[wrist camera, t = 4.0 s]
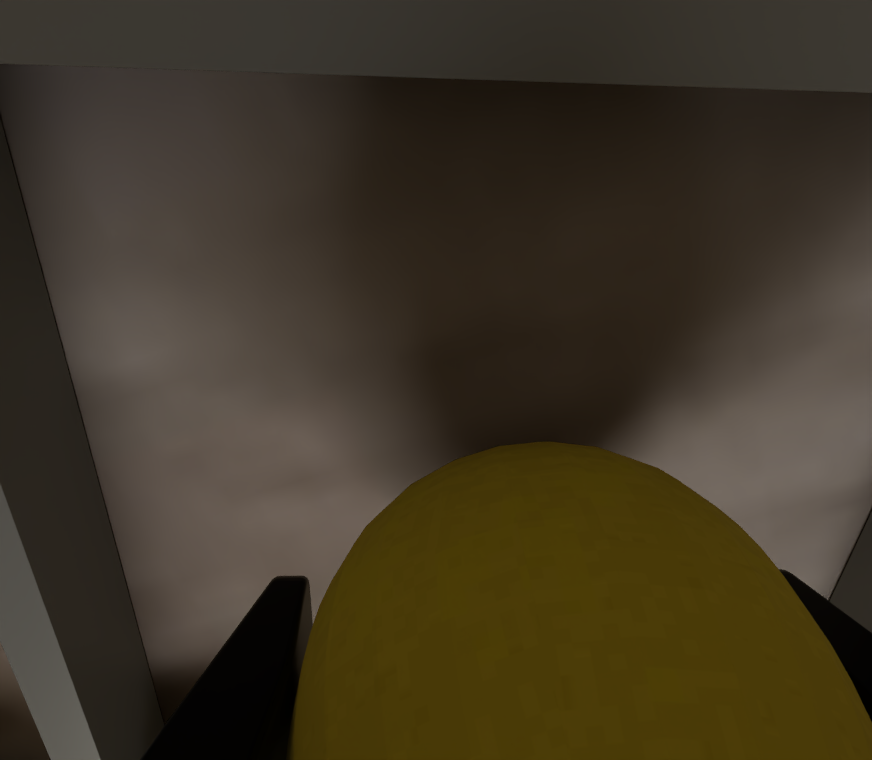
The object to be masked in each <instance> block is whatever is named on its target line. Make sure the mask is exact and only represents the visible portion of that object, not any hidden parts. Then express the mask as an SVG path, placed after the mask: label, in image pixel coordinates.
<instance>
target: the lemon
mask: <svg viewBox="0 0 872 760" xmlns="http://www.w3.org/2000/svg"><path fill="white" fill-rule="evenodd" d="M286 760H872V722H871V720H870V718H869V715H868V713H867V711H866V709H865V707H864V705H863V703H862V701H861V699H860V697H859V695H858V693H857V691H856V688H855V686H854V684H853V682H852V680H851V678H850V677H849V675H848V673H847V671H846V670H845V668H844V666H843V664H842V663H841V661H840V659H839V657H838V656H837V654H836V652H835V650H834V649H833V647H832V645H831V644H830V642H829V641H828V639H827V638H826V636H825V635H824V633H823V632H822V630H821V629H820V628H819V626H818V625H817V623H816V622H815V620H814V619H813V617H812V616H811V614H810V613H809V611H808V610H807V609H806V607H805V606H804V604H803V603H802V601H801V600H800V599H799V597H798V596H797V594H796V593H795V591H794V590H793V589H792V587H791V586H790V584H789V583H788V581H787V580H786V579H785V577H784V576H783V574H782V573H781V572H780V571H779V569H778V568H777V567H776V566H775V564H774V563H773V562H772V561H771V560H770V558H769V557H768V556H767V555H766V553H765V552H764V551H763V550H762V549H761V547H760V546H759V545H758V544H757V543H756V542H755V541H754V540H753V539H752V538H751V537H750V536H749V535H748V534H747V533H746V532H745V531H744V530H743V529H742V528H741V527H740V526H739V525H738V524H737V523H736V522H734V521H733V520H732V519H731V518H729V517H728V516H727V515H726V514H725V513H723V512H722V511H721V510H720V509H719V508H717V507H716V506H715V505H713V504H712V503H710V502H709V501H707V500H706V499H704V498H703V497H702V496H700V495H699V494H697V493H696V492H694V491H693V490H692V489H690V488H689V487H687V486H686V485H684V484H683V483H681V482H680V481H679V480H677V479H675V478H674V477H672V476H670V475H669V474H667V473H665V472H664V471H662V470H660V469H659V468H656V467H653V466H651V465H648V464H645V463H642V462H639V461H637V460H634V459H631V458H628V457H625V456H622V455H619V454H616V453H613V452H611V451H608V450H605V449H602V448H599V447H594V446H585V445H576V444H567V443H558V442H532V443H523V444H513V445H503V446H497V447H494V448H491V449H488V450H484V451H481V452H478V453H475V454H472V455H468V456H465V457H462V458H459V459H456V460H454V461H452V462H450V463H448V464H447V465H445V466H443V467H441V468H439V469H438V470H436V471H434V472H432V473H431V474H429V475H427V476H425V477H423V478H422V479H420V480H418V481H416V482H414V483H413V484H411V485H410V486H409V487H408V488H407V489H406V490H404V491H403V492H402V493H401V494H400V495H399V496H398V497H397V498H396V499H395V500H394V501H392V502H391V503H390V504H389V505H388V506H387V507H386V508H385V509H384V510H383V511H382V512H381V513H379V514H378V515H377V516H376V517H375V518H374V519H373V520H372V521H371V522H370V523H369V524H368V525H367V526H366V527H365V529H364V530H363V532H362V533H361V535H360V536H359V538H358V539H357V540H356V542H355V543H354V545H353V547H352V548H351V550H350V552H349V553H348V555H347V557H346V558H345V560H344V561H343V563H342V565H341V566H340V568H339V570H338V571H337V573H336V575H335V576H334V578H333V580H332V581H331V583H330V585H329V587H328V589H327V591H326V594H325V596H324V598H323V600H322V602H321V604H320V606H319V609H318V612H317V615H316V618H315V621H314V623H313V626H312V629H311V632H310V636H309V640H308V644H307V648H306V652H305V656H304V660H303V664H302V668H301V673H300V678H299V682H298V687H297V692H296V697H295V701H294V706H293V712H292V718H291V724H290V731H289V737H288V744H287V756H286Z"/></svg>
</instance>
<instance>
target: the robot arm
mask: <svg viewBox="0 0 872 760" xmlns="http://www.w3.org/2000/svg"><path fill="white" fill-rule="evenodd" d="M779 571H780V572H781V573H782V574H783V576H784V577H785V579H786V580H787V581H788V583H789V584H790V586H791V587H792V589H793V590H794V591H795V593H796V594H797V596H798V597H799V599H800V600H801V601H802V603H803V604H804V606H805V607H806V609H807V610H808V611H809V613H810V614H811V616H812V617H813V619H814V620H815V622H816V623H817V625H818V626H819V628H820V629H821V630H822V632H823V633H824V635H825V636H826V638H827V639H828V641H829V642H830V644H831V645H832V647H833V649H834V650H835V652H836V654H837V656H838V657H839V659H840V661H841V663H842V664H843V666H844V668H845V670H846V671H847V673H848V675H849V677H850V678H851V680H852V682H853V684H854V686H855V688H856V691H857V693H858V695H859V697H860V699H861V701H862V703H863V705H864V707H865V709H866V711H867V713H868V715H869V718H870V720H871V722H872V633H871V632H870V631H869V630H867V629H866V628H865V627H863V626H862V625H861V624H859V623H858V622H857V621H855V620H854V619H852V618H851V617H850V616H848V615H847V614H846V613H844V612H843V611H842V610H840V609H839V608H838V607H836V606H835V605H834V604H832V603H831V602H829V601H828V600H827V599H825V598H824V597H823V596H821V595H820V594H819V593H817V592H816V591H815V590H813V589H812V588H811V587H809V586H808V585H806V584H805V583H804V582H802V581H801V580H800V579H798V578H797V577H796V576H794V575H793V574H791V573H790V572H788V571H786V570H781V569H779ZM312 626H313V623H312V610H311V597H310V585H309V580H308V578H306V577H305V576H277V577H275V578H274V579H273V580H272V581H271V582H270V583H269V585H268V586H267V587H266V589H265V590H264V591H263V593H262V594H261V595H260V597H259V598H258V599H257V601H256V602H255V603H254V605H253V606H252V608H251V609H250V610H249V612H248V613H247V614H246V616H245V617H244V618H243V620H242V621H241V622H240V624H239V625H238V627H237V628H236V629H235V631H234V632H233V633H232V635H231V636H230V637H229V639H228V640H227V641H226V643H225V644H224V646H223V647H222V648H221V650H220V651H219V652H218V654H217V655H216V656H215V658H214V659H213V660H212V662H211V663H210V665H209V666H208V667H207V669H206V670H205V671H204V673H203V674H202V675H201V677H200V678H199V679H198V681H197V682H196V684H195V685H194V686H193V688H192V689H191V690H190V692H189V693H188V694H187V696H186V697H185V698H184V700H183V701H182V703H181V704H180V705H179V707H178V708H177V709H176V711H175V712H174V713H173V715H172V716H171V717H170V719H169V720H168V722H167V723H166V724H165V726H164V727H163V728H162V730H161V731H160V732H159V734H158V735H157V736H156V738H155V739H154V741H153V742H152V743H151V745H150V746H149V747H148V749H147V750H146V751H145V753H144V754H143V755H142V757H141V758H140V759H139V760H286V756H287V744H288V737H289V731H290V724H291V718H292V712H293V706H294V701H295V697H296V692H297V687H298V682H299V678H300V673H301V668H302V664H303V660H304V656H305V652H306V648H307V644H308V640H309V636H310V632H311V629H312Z"/></svg>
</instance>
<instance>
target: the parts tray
mask: <svg viewBox="0 0 872 760" xmlns="http://www.w3.org/2000/svg"><path fill="white" fill-rule="evenodd" d="M0 64H24V65H54V66H84V67H114V68H144V69H173V70H203V71H233V72H263V73H293V74H323V75H353V76H383V77H413V78H443V79H473V80H502V81H532V82H562V83H592V84H622V85H652V86H682V87H712V88H742V89H772V90H802V91H832V92H861V93H872V0H0ZM829 602H831V603H832V604H834V605H835V606H836V607H838V608H839V609H840V610H842V611H843V612H844V613H846V614H847V615H848V616H850V617H851V618H852V619H854V620H855V621H857V622H858V623H859V624H861V625H862V626H863V627H865V628H866V629H867V630H869V631H870V632H871V633H872V512H871V514H870V517H869V519H868V521H867V523H866V525H865V527H864V529H863V531H862V533H861V536H860V538H859V540H858V542H857V544H856V546H855V548H854V550H853V552H852V555H851V557H850V559H849V561H848V563H847V565H846V567H845V569H844V572H843V574H842V576H841V578H840V580H839V582H838V584H837V586H836V588H835V591H834V593H833V595H832V597H831V599H830V601H829ZM0 642H1V644H2V647H3V649H4V651H5V654H6V656H7V658H8V661H9V663H10V665H11V668H12V670H13V672H14V675H15V677H16V679H17V682H18V684H19V686H20V689H21V691H22V693H23V696H24V698H25V700H26V703H27V705H28V708H29V710H30V712H31V715H32V717H33V719H34V722H35V724H36V726H37V729H38V731H39V733H40V736H41V738H42V740H43V743H44V745H45V747H46V750H47V752H48V754H49V757H50V759H51V760H139V759H140V758H141V757H142V755H143V754H144V753H145V751H146V750H147V749H148V747H149V746H150V745H151V743H152V742H153V741H154V739H155V738H156V736H157V735H158V734H159V732H160V731H161V730H162V728H163V727H164V723H163V719H162V715H161V712H160V708H159V704H158V701H157V697H156V693H155V689H154V686H153V682H152V678H151V675H150V671H149V667H148V664H147V660H146V656H145V652H144V649H143V645H142V641H141V638H140V634H139V630H138V627H137V623H136V619H135V615H134V612H133V608H132V604H131V601H130V597H129V593H128V590H127V586H126V582H125V578H124V575H123V571H122V567H121V564H120V560H119V556H118V553H117V549H116V545H115V541H114V538H113V534H112V530H111V527H110V523H109V519H108V516H107V512H106V508H105V504H104V501H103V497H102V493H101V490H100V486H99V482H98V479H97V475H96V471H95V467H94V464H93V460H92V456H91V453H90V449H89V445H88V442H87V438H86V434H85V430H84V427H83V423H82V419H81V416H80V412H79V408H78V405H77V401H76V397H75V393H74V390H73V386H72V382H71V379H70V375H69V371H68V368H67V364H66V360H65V356H64V353H63V349H62V345H61V342H60V338H59V334H58V331H57V327H56V323H55V319H54V316H53V312H52V308H51V305H50V301H49V297H48V294H47V290H46V286H45V282H44V279H43V275H42V271H41V268H40V264H39V260H38V257H37V253H36V249H35V245H34V242H33V238H32V234H31V231H30V227H29V223H28V219H27V216H26V212H25V208H24V205H23V201H22V197H21V194H20V190H19V186H18V182H17V179H16V175H15V171H14V168H13V164H12V160H11V157H10V153H9V149H8V145H7V142H6V138H5V134H4V131H3V127H2V123H1V120H0Z"/></svg>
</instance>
